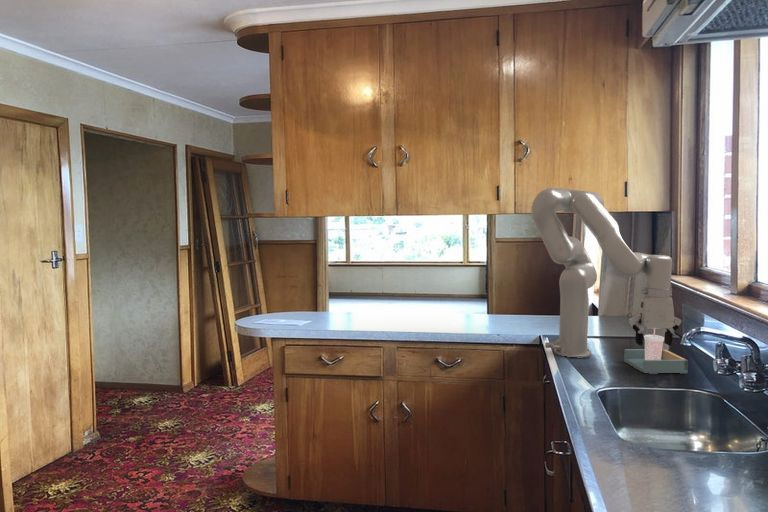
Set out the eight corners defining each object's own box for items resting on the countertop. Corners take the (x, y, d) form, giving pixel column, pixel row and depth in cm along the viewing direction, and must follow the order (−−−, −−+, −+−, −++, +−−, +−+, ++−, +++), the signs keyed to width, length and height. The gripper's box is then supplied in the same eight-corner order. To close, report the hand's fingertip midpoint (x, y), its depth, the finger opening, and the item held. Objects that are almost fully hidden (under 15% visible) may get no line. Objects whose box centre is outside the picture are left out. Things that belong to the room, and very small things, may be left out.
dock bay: (644, 373, 185) (645, 361, 185) (623, 361, 199) (624, 349, 199) (687, 373, 186) (688, 360, 186) (663, 360, 200) (664, 348, 200)
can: (670, 356, 206) (672, 322, 205) (648, 355, 207) (649, 321, 206) (665, 350, 213) (667, 318, 212) (643, 349, 215) (644, 317, 213)
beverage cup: (638, 362, 193) (641, 321, 192) (648, 359, 197) (650, 318, 195) (656, 367, 188) (659, 324, 187) (666, 364, 192) (669, 322, 191)
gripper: (637, 295, 186) (633, 347, 188) (689, 295, 187) (685, 347, 189) (625, 290, 193) (622, 341, 195) (676, 291, 195) (672, 341, 196)
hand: (653, 344), depth 192 cm, fingers open, 9 cm apart
